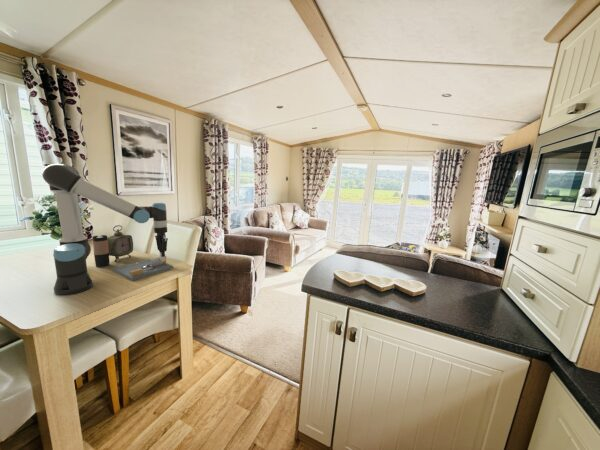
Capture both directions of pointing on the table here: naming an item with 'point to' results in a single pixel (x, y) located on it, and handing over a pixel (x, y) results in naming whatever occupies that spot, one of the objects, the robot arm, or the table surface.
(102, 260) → the travel mug
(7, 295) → the table surface
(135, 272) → the screwdriver
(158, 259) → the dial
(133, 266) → the panel
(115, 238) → the tabletop clock
